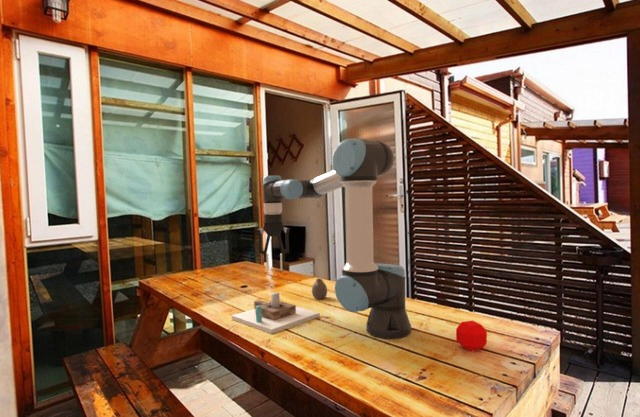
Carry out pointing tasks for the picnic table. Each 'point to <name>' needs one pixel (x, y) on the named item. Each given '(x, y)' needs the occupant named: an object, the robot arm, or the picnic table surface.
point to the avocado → (319, 289)
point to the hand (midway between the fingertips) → (274, 269)
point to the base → (279, 324)
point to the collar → (276, 313)
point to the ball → (471, 335)
